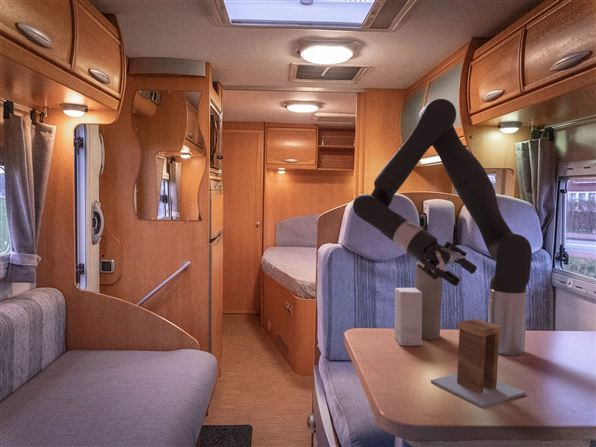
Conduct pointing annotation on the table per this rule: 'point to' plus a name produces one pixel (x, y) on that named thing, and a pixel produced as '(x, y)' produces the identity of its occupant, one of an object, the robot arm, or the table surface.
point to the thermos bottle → (429, 303)
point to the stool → (478, 354)
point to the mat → (480, 399)
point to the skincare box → (408, 316)
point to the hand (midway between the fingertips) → (467, 276)
